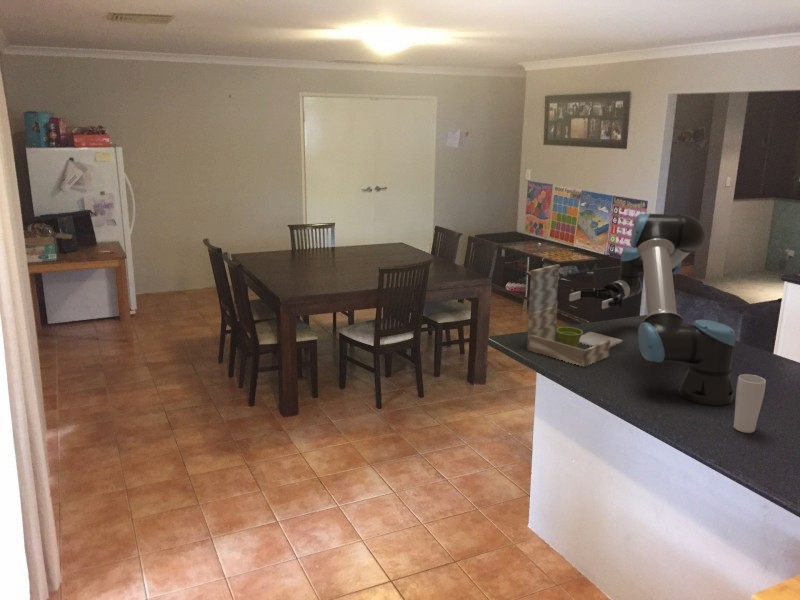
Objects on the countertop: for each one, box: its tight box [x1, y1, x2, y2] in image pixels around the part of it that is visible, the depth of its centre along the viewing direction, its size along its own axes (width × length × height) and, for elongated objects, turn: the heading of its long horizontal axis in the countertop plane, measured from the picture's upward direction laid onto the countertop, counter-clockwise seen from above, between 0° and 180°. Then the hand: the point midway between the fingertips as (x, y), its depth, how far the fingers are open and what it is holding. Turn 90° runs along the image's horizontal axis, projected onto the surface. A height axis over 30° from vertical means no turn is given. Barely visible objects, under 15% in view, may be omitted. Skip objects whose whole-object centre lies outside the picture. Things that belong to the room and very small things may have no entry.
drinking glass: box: [733, 373, 767, 434], centre depth 179 cm, size 7×7×15 cm
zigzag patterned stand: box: [526, 264, 611, 368], centre depth 236 cm, size 16×24×30 cm
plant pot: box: [555, 326, 584, 348], centre depth 239 cm, size 9×9×9 cm
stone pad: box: [579, 331, 624, 348], centre depth 253 cm, size 14×14×1 cm
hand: (586, 301), depth 242 cm, fingers open, 13 cm apart
